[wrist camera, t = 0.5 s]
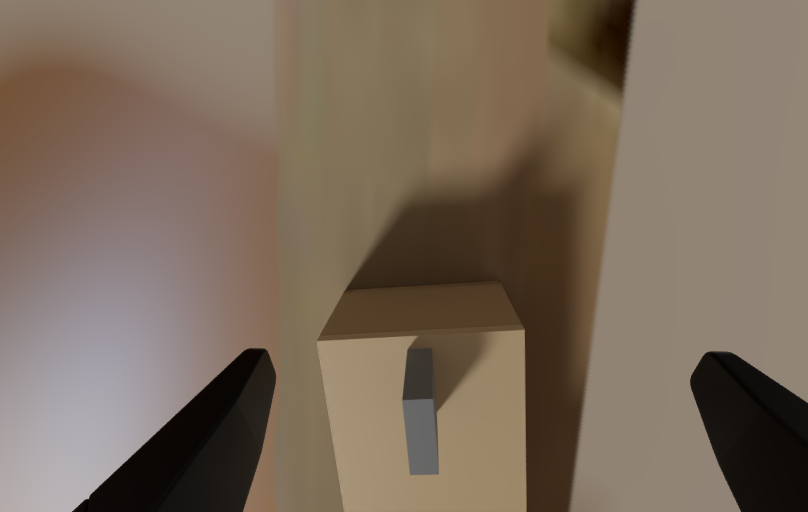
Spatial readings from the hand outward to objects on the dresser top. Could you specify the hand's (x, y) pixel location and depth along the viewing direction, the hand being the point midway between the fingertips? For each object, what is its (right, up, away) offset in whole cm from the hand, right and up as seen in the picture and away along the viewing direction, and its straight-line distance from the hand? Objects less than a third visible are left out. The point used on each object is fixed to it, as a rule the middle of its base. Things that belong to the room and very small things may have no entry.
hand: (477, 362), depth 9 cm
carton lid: (0, -8, +13) cm, 16 cm away
